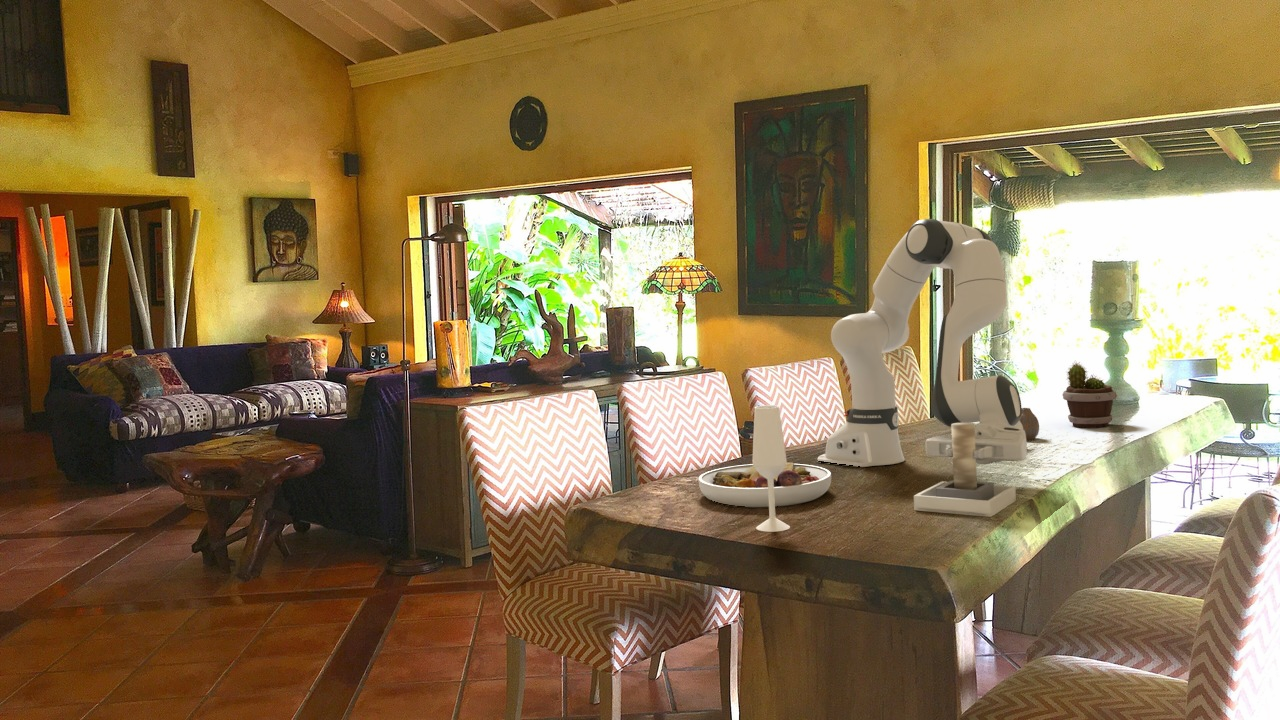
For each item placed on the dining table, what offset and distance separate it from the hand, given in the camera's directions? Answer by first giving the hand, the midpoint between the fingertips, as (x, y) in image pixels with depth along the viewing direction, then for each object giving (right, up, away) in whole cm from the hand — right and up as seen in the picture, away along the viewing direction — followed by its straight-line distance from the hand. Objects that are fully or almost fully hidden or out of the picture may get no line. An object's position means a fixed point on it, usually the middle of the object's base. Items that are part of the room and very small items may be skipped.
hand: (962, 453), depth 204 cm
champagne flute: (-40, -14, -7) cm, 43 cm away
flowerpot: (+69, -1, +94) cm, 116 cm away
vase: (+43, -3, +77) cm, 89 cm away
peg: (+1, -8, +1) cm, 8 cm away
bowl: (-37, -12, +24) cm, 46 cm away
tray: (+1, -11, +2) cm, 11 cm away
